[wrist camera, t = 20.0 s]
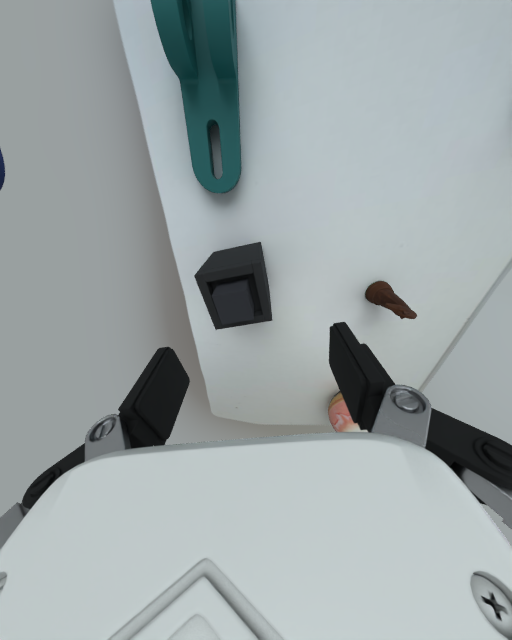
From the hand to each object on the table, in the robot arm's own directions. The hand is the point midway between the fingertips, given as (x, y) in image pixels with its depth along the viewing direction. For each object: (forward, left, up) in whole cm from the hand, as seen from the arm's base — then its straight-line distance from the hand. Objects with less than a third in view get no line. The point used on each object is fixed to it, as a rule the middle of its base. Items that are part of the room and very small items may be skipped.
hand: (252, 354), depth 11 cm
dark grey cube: (+3, -4, -17) cm, 18 cm away
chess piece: (+18, +20, -29) cm, 39 cm away
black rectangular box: (+3, -4, -28) cm, 29 cm away
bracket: (-18, +1, -29) cm, 34 cm away
